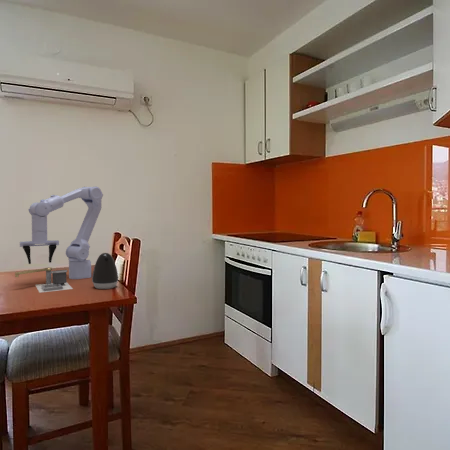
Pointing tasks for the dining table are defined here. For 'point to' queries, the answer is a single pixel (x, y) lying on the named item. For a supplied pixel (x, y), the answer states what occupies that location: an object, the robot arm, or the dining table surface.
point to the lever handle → (31, 271)
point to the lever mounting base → (51, 285)
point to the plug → (59, 276)
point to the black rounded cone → (105, 272)
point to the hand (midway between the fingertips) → (40, 262)
